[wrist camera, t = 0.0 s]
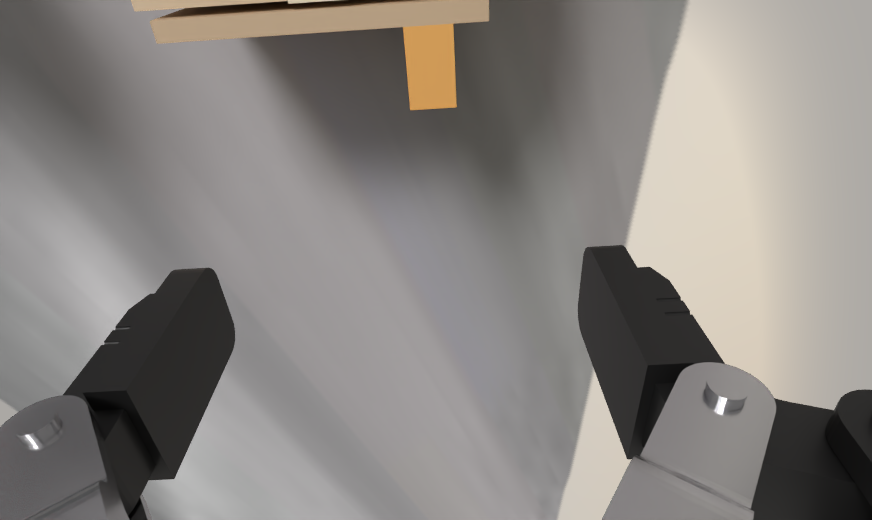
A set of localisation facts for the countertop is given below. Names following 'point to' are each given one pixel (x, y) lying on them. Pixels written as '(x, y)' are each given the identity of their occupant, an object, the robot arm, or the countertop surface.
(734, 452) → the robot arm
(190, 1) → the carton
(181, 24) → the flap
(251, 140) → the countertop surface
